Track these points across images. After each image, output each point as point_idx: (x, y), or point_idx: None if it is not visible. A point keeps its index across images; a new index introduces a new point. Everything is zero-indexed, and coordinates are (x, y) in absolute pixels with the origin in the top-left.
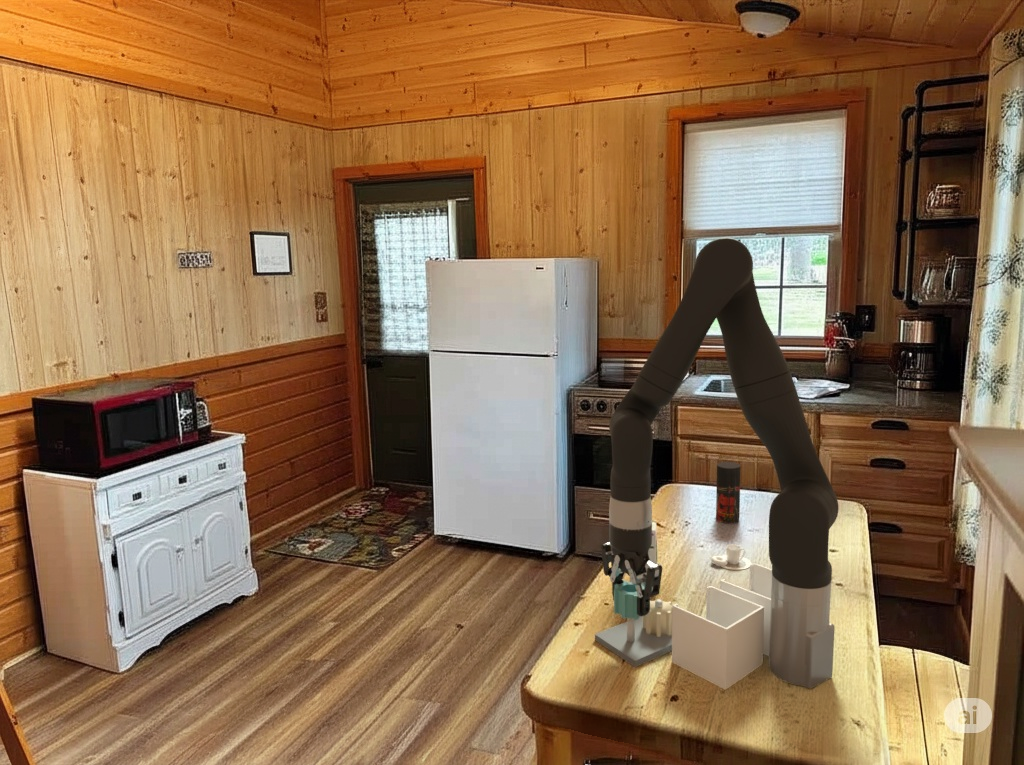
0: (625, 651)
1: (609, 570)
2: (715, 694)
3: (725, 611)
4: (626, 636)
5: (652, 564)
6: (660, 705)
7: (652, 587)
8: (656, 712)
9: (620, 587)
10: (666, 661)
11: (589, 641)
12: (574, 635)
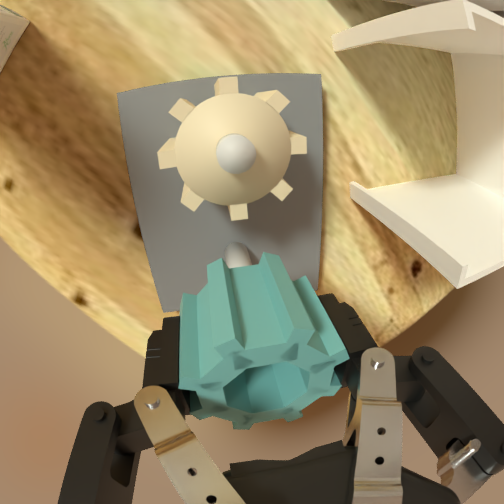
0: None
1: (135, 453)
2: None
3: (457, 32)
4: (212, 252)
5: (480, 485)
6: (409, 296)
7: (10, 29)
8: (412, 308)
9: (234, 413)
10: (340, 206)
11: (164, 312)
12: (127, 326)
